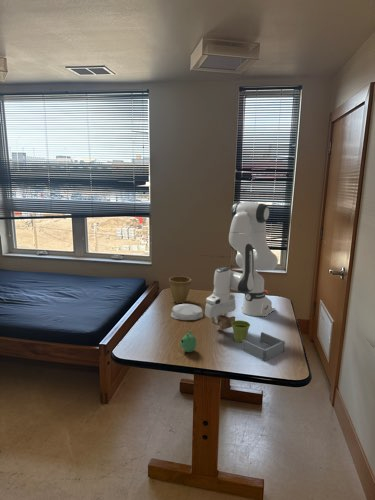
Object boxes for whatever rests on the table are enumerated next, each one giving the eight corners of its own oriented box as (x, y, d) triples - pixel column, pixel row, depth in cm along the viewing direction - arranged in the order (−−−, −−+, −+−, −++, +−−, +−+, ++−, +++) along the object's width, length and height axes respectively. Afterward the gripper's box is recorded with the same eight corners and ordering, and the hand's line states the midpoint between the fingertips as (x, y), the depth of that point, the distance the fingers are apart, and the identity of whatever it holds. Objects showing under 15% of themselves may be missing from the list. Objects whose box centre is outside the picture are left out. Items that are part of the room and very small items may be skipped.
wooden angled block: (220, 319, 192) (221, 311, 191) (234, 325, 184) (235, 317, 183) (207, 324, 186) (208, 315, 185) (221, 330, 178) (222, 321, 177)
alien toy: (182, 346, 167) (183, 327, 165) (197, 349, 165) (198, 329, 163) (178, 353, 161) (178, 333, 159) (193, 356, 158) (194, 335, 157)
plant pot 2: (245, 345, 169) (245, 329, 168) (227, 340, 174) (228, 324, 173) (252, 338, 177) (252, 323, 176) (235, 334, 182) (236, 319, 180)
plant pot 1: (182, 307, 221) (183, 283, 218) (164, 302, 229) (164, 279, 226) (195, 300, 233) (195, 278, 230) (177, 296, 241) (177, 275, 238)
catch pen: (261, 341, 174) (262, 332, 173) (284, 351, 164) (284, 341, 163) (242, 349, 165) (242, 340, 164) (264, 361, 155) (265, 350, 154)
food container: (181, 307, 222) (181, 297, 221) (208, 313, 212) (208, 302, 211) (164, 317, 205) (163, 307, 204) (192, 324, 195) (192, 313, 194)
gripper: (230, 292, 192) (229, 315, 194) (203, 299, 179) (202, 324, 181) (238, 295, 187) (237, 319, 189) (212, 302, 174) (211, 328, 176)
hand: (220, 321), depth 185 cm, fingers closed on wooden angled block, 3 cm apart
